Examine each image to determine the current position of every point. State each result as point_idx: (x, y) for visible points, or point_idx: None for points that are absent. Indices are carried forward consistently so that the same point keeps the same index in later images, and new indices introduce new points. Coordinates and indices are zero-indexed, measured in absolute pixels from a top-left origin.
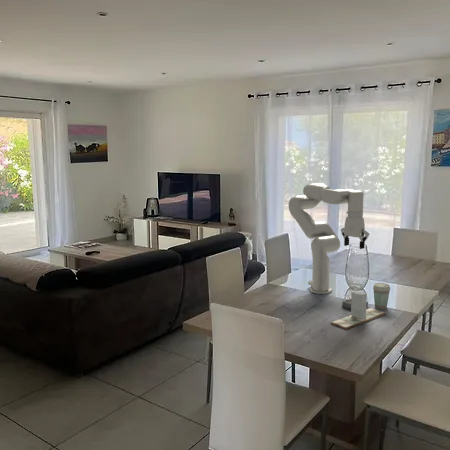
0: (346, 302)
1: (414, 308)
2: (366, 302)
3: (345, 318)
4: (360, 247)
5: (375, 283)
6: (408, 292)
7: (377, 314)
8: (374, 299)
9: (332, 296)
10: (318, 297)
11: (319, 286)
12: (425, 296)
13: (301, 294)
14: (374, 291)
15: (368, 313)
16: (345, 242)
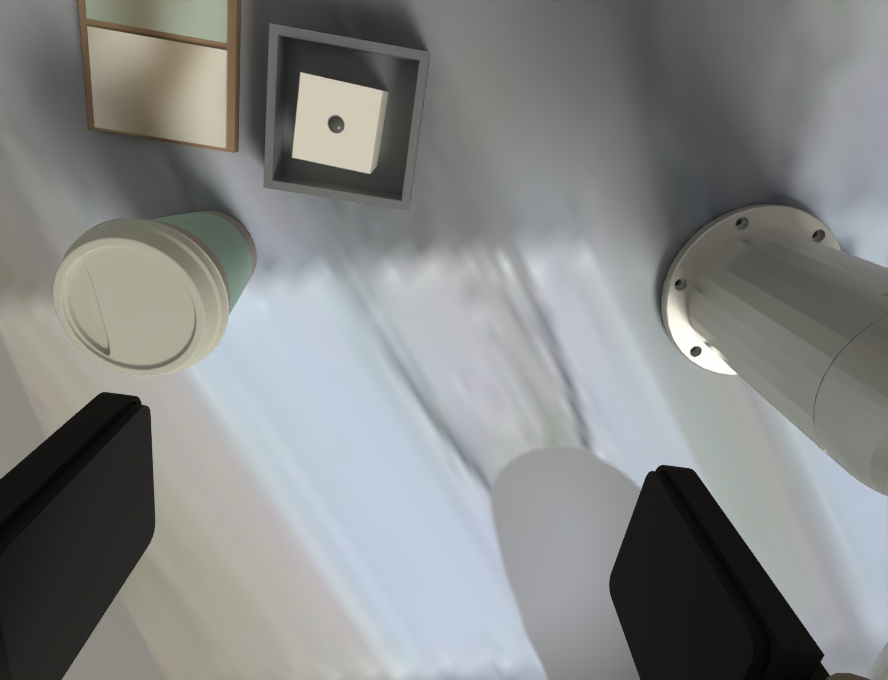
0: (385, 45)
1: (58, 379)
2: (265, 169)
3: None
4: (83, 412)
5: (201, 316)
6: (263, 603)
7: (97, 39)
8: (225, 233)
9: (610, 233)
10: (695, 134)
11: (761, 245)
12: (156, 598)
13: (854, 102)
14: (188, 234)
15: (157, 7)
16: (693, 534)
